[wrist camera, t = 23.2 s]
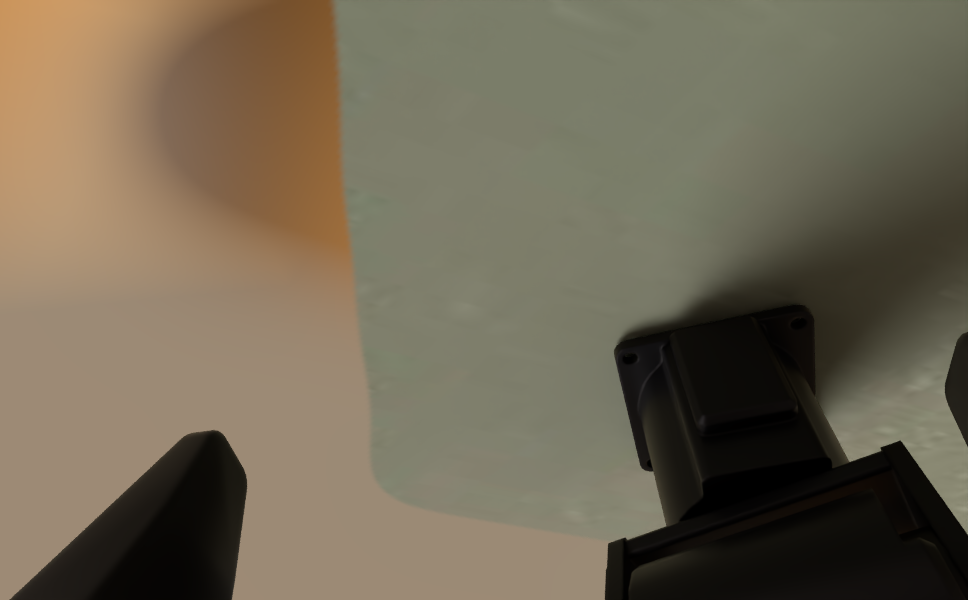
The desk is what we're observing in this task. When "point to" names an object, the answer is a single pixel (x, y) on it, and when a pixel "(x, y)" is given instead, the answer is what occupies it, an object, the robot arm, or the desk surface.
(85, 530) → the robot arm
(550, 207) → the desk surface
